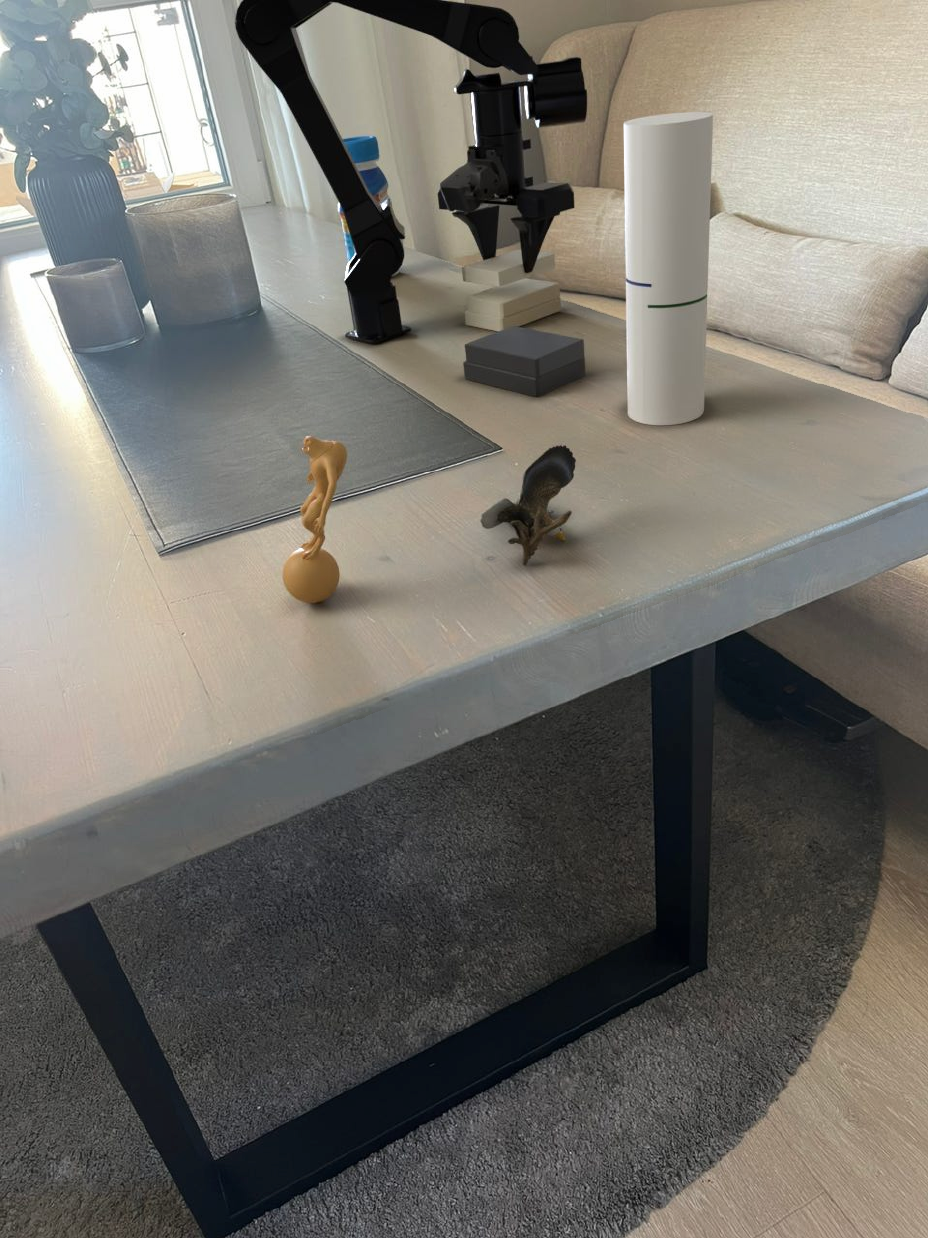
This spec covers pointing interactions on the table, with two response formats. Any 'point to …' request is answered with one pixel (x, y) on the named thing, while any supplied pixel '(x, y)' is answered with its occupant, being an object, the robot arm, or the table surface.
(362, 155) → the beverage bottle
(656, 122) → the cylindrical container
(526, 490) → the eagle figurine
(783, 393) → the table surface
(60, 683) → the table surface
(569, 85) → the robot arm
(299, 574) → the figurine
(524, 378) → the grey books
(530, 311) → the white books
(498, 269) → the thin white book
